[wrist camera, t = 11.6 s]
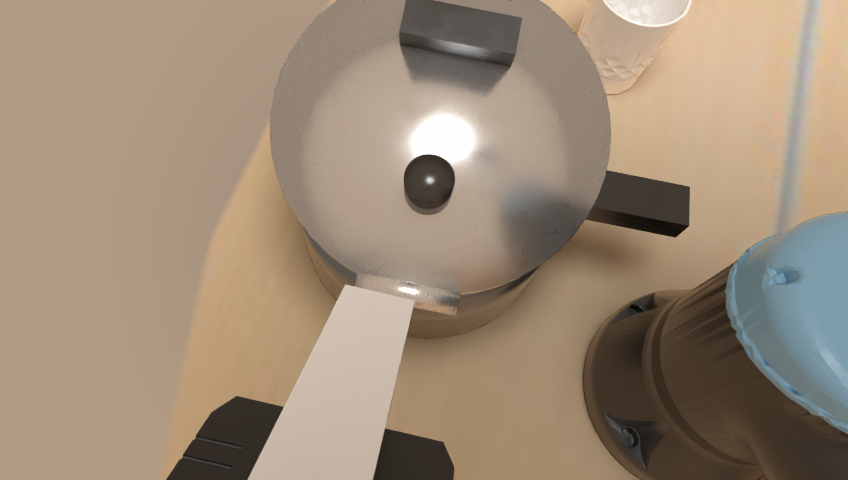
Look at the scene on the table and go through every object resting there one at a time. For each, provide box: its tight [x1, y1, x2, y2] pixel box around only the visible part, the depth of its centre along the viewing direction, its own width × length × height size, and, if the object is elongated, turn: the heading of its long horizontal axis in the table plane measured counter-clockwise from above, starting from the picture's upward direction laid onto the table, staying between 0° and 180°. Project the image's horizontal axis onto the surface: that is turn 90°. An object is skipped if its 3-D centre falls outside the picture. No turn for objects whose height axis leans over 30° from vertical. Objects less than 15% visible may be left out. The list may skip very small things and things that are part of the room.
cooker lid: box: [270, 0, 611, 316], centre depth 36 cm, size 21×21×4 cm
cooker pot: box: [300, 170, 690, 338], centre depth 46 cm, size 28×20×12 cm
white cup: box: [577, 0, 692, 94], centre depth 55 cm, size 8×8×10 cm
